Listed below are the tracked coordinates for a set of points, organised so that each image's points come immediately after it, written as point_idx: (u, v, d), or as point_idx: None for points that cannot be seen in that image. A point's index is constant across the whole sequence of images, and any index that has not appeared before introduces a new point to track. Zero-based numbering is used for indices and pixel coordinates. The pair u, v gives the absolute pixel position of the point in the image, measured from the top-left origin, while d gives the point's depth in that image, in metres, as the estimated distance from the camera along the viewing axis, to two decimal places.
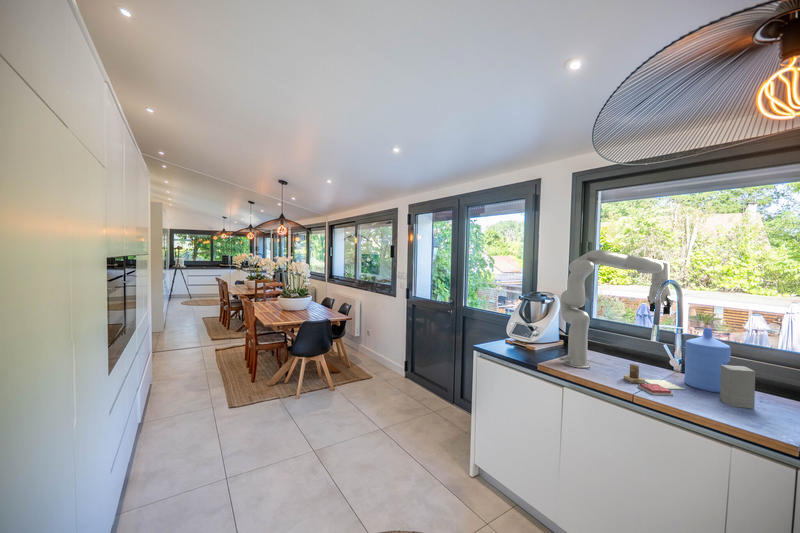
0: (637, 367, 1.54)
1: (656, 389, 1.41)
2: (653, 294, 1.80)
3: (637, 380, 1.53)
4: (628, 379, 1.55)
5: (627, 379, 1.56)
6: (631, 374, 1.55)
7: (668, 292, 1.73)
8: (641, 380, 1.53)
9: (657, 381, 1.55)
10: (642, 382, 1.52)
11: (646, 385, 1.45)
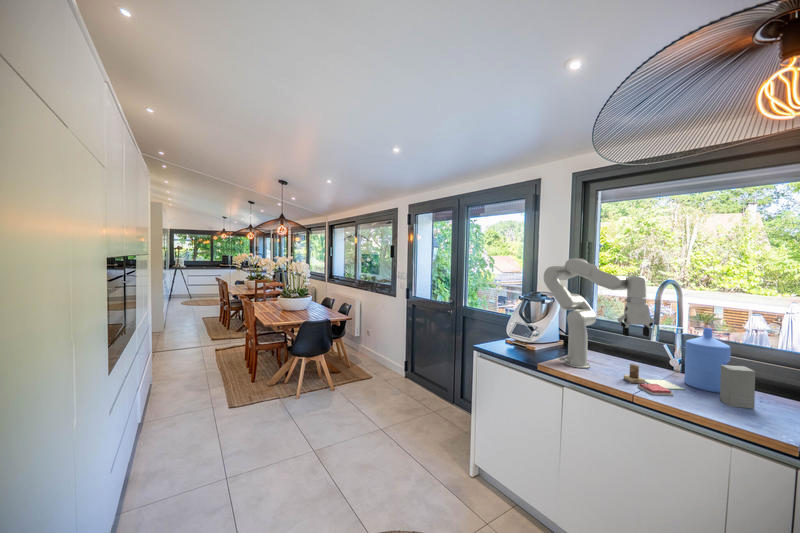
0: (637, 367, 1.54)
1: (656, 389, 1.41)
2: (637, 315, 1.53)
3: (637, 380, 1.53)
4: (628, 379, 1.55)
5: (627, 379, 1.56)
6: (631, 374, 1.55)
7: None
8: (641, 380, 1.53)
9: (657, 381, 1.55)
10: (642, 382, 1.52)
11: (646, 385, 1.45)
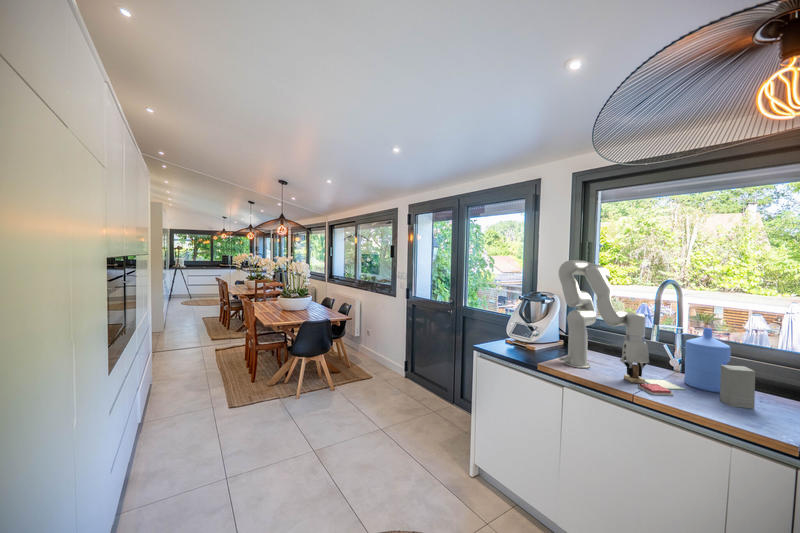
0: (637, 367, 1.54)
1: (656, 389, 1.41)
2: (636, 353, 1.53)
3: (637, 380, 1.53)
4: (628, 379, 1.55)
5: (627, 379, 1.56)
6: None
7: None
8: (641, 380, 1.53)
9: (657, 381, 1.55)
10: (642, 382, 1.52)
11: (646, 385, 1.45)
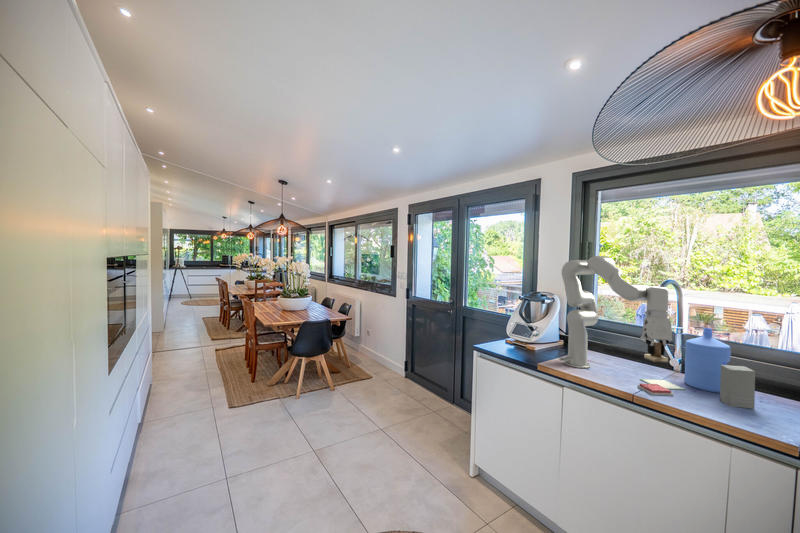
0: (659, 345, 1.42)
1: (656, 389, 1.41)
2: (658, 330, 1.41)
3: (660, 358, 1.41)
4: (649, 358, 1.43)
5: (648, 358, 1.44)
6: None
7: None
8: (664, 358, 1.40)
9: (657, 381, 1.55)
10: (665, 361, 1.40)
11: (646, 385, 1.45)
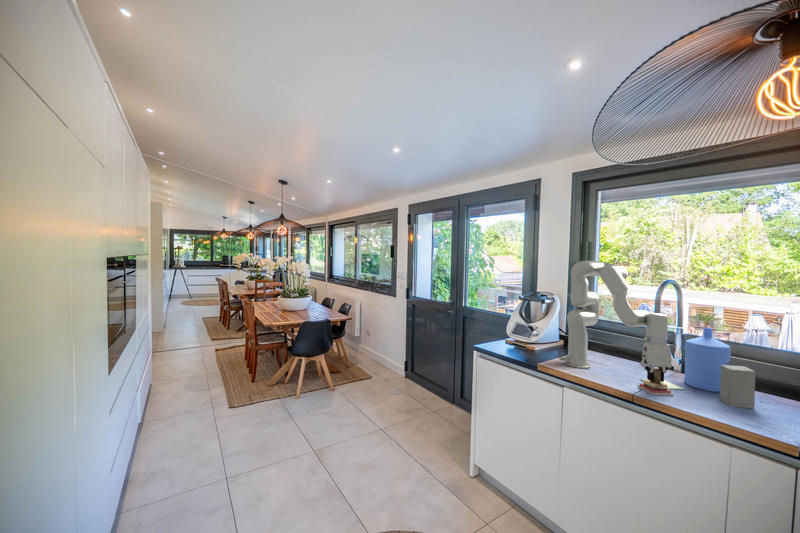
0: (659, 371, 1.42)
1: None
2: (658, 357, 1.41)
3: (659, 386, 1.40)
4: (649, 384, 1.43)
5: (648, 384, 1.44)
6: None
7: None
8: (663, 386, 1.40)
9: None
10: (665, 388, 1.40)
11: None
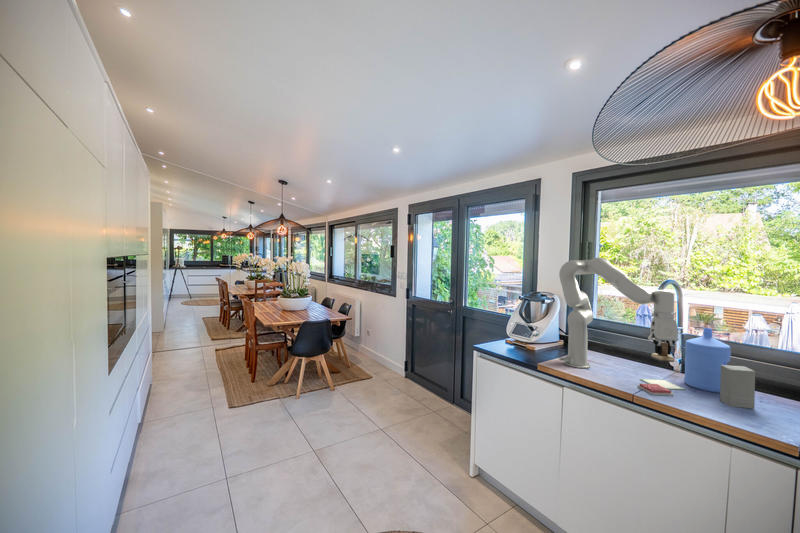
0: (666, 345, 1.50)
1: (656, 389, 1.41)
2: (665, 331, 1.49)
3: (666, 358, 1.49)
4: (657, 357, 1.52)
5: (656, 357, 1.52)
6: None
7: None
8: (671, 358, 1.49)
9: (657, 381, 1.55)
10: (672, 360, 1.49)
11: (646, 385, 1.45)
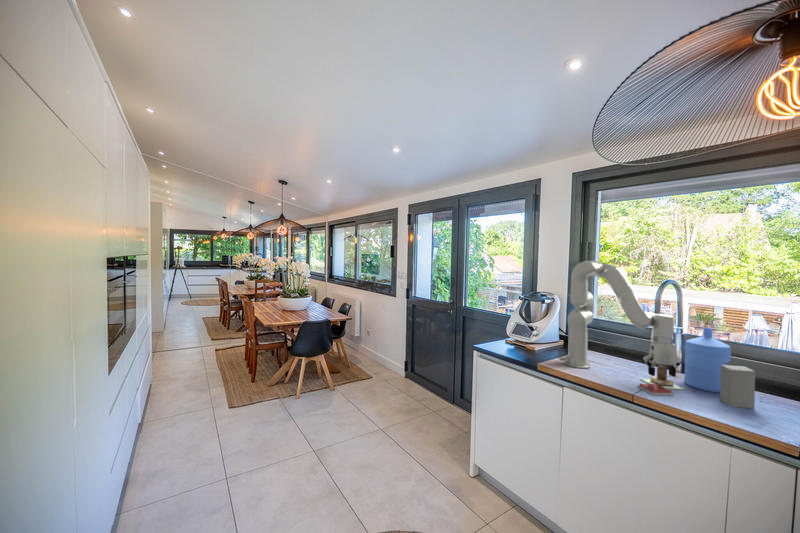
0: (665, 369, 1.51)
1: (656, 389, 1.41)
2: (664, 355, 1.49)
3: (665, 382, 1.49)
4: (656, 381, 1.52)
5: (655, 381, 1.53)
6: (659, 376, 1.52)
7: None
8: (669, 382, 1.49)
9: None
10: (671, 384, 1.49)
11: (646, 385, 1.45)
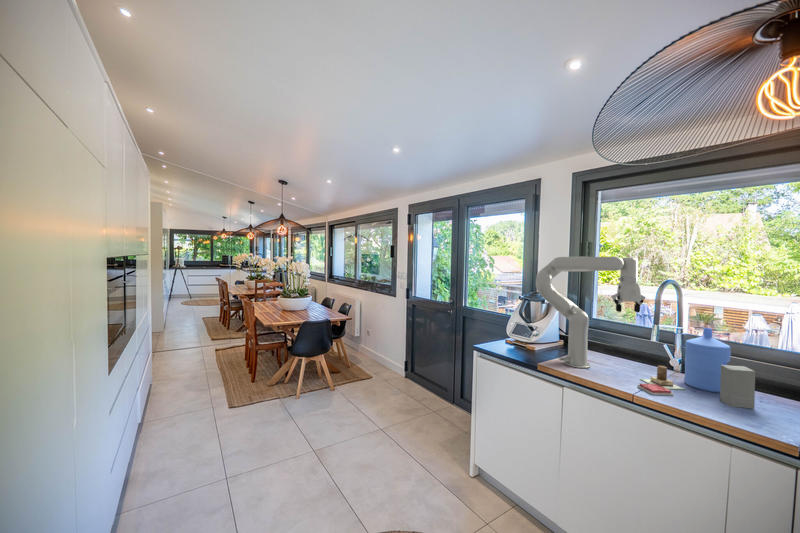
0: (665, 369, 1.51)
1: (656, 389, 1.41)
2: (629, 293, 1.68)
3: (665, 382, 1.49)
4: (656, 381, 1.52)
5: (655, 381, 1.53)
6: (659, 376, 1.52)
7: None
8: (669, 382, 1.49)
9: None
10: (671, 384, 1.49)
11: (646, 385, 1.45)
